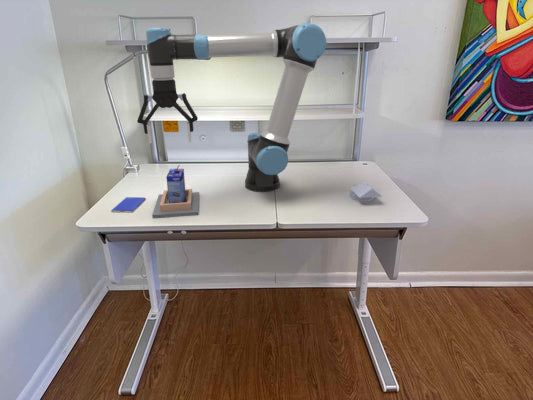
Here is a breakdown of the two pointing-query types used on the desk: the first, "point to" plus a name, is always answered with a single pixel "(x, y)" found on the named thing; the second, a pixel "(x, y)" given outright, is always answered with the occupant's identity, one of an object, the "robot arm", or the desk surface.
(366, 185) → the pale grey faceted rock
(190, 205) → the grey holder tray
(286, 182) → the desk surface
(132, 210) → the hard drive
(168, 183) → the ink cartridge box
